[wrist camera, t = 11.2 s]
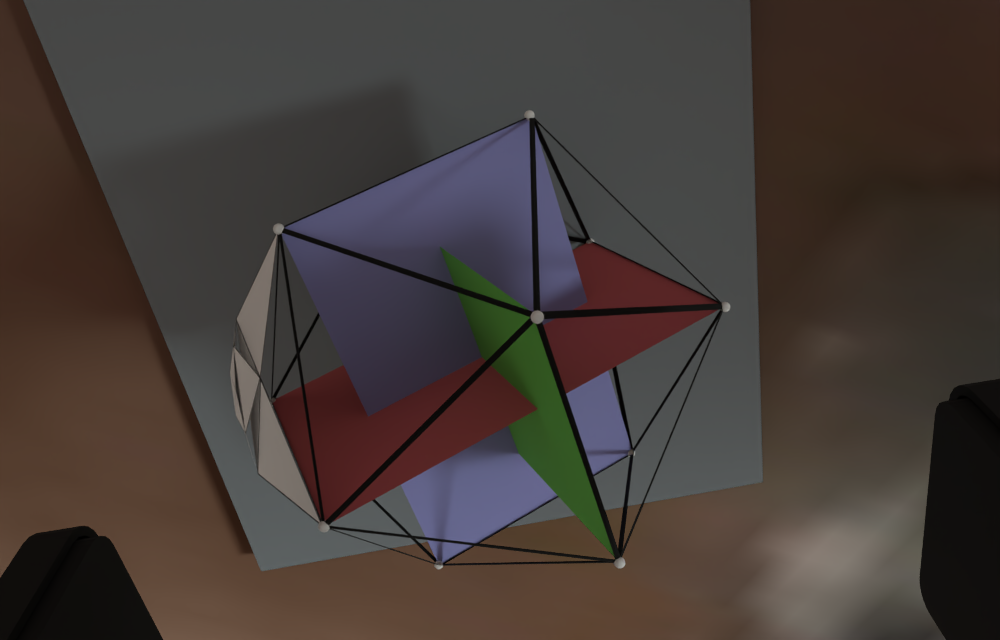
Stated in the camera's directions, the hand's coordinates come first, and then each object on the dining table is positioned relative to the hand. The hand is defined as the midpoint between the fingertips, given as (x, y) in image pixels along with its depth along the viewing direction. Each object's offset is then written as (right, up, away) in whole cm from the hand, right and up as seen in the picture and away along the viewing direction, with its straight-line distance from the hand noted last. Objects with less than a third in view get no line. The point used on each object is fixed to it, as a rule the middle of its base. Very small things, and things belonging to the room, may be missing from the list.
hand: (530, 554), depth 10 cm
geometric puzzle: (-1, +4, +7) cm, 8 cm away
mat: (-1, +4, +8) cm, 8 cm away
